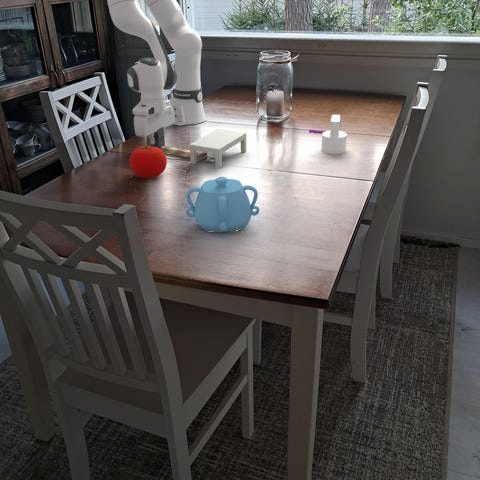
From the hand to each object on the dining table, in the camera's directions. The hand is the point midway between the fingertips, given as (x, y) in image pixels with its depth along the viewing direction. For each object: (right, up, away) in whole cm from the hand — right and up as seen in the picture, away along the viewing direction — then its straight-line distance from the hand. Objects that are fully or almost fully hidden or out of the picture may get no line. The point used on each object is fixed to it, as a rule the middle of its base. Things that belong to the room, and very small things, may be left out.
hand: (157, 141), depth 194 cm
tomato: (+1, -16, -20) cm, 25 cm away
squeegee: (+64, +6, +17) cm, 67 cm away
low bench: (+24, -7, -5) cm, 25 cm away
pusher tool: (+8, -5, -2) cm, 10 cm away
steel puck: (+22, -9, -8) cm, 25 cm away
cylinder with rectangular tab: (+66, -3, -1) cm, 66 cm away
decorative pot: (+26, -33, -52) cm, 67 cm away
